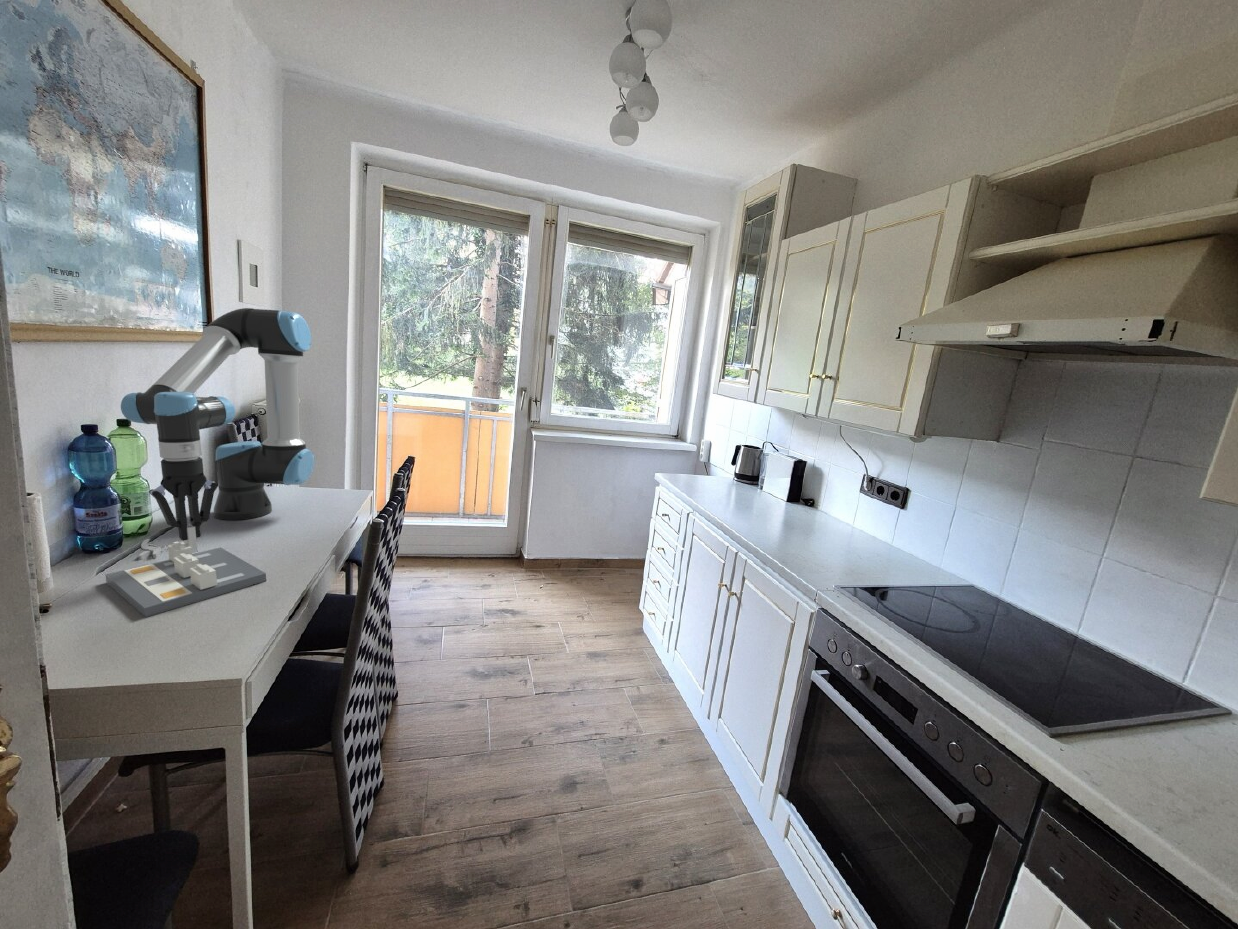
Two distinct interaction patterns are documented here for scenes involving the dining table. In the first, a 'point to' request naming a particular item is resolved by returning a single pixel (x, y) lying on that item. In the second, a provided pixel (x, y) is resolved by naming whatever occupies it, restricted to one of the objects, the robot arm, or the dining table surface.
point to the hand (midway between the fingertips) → (191, 551)
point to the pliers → (152, 549)
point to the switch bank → (181, 582)
